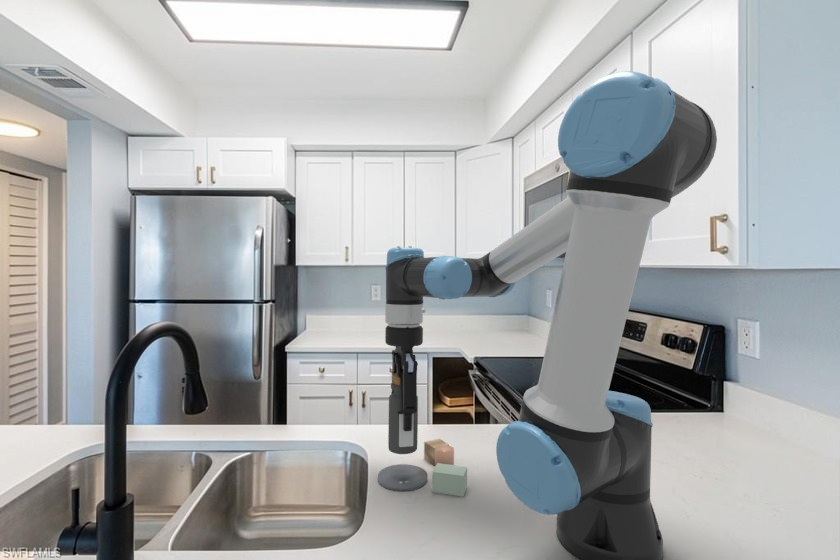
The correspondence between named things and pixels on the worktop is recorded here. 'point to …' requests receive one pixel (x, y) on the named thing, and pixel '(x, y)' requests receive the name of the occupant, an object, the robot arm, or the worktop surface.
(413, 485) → the coaster
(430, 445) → the oak block
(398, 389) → the bottle
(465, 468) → the sage block
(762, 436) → the worktop surface
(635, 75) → the robot arm
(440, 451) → the salmon pink block
